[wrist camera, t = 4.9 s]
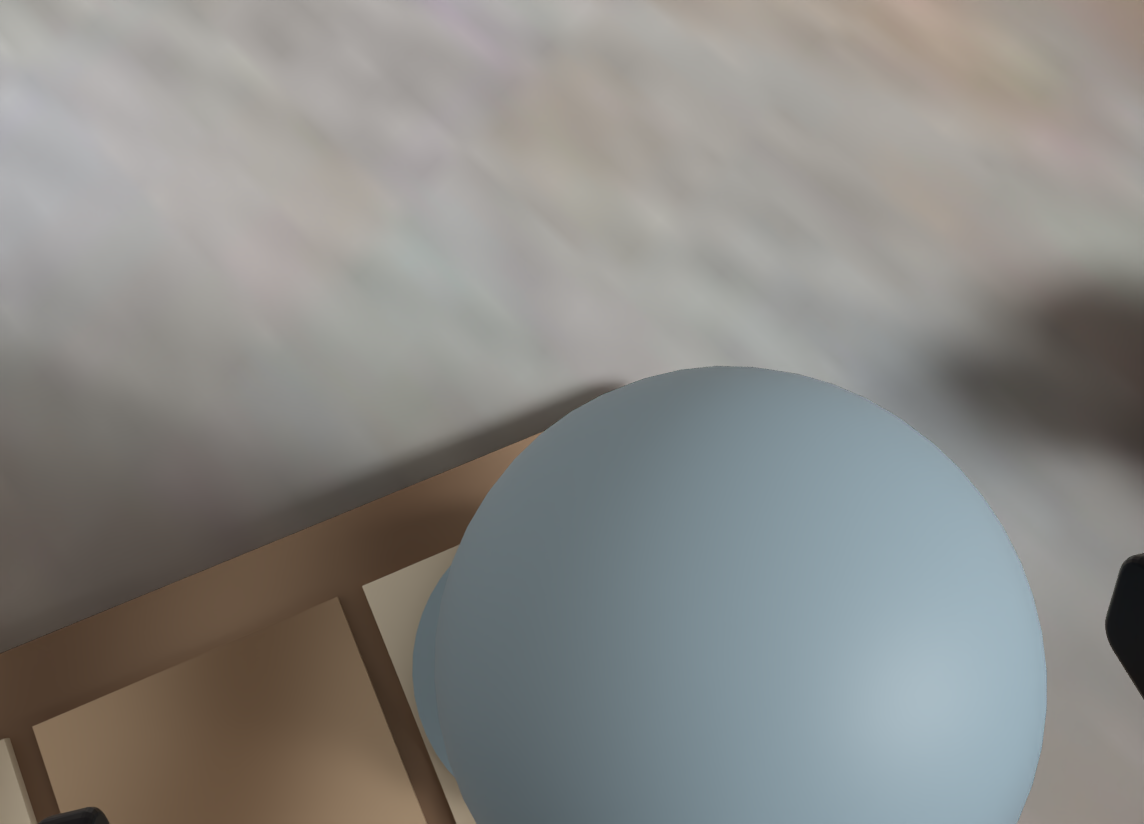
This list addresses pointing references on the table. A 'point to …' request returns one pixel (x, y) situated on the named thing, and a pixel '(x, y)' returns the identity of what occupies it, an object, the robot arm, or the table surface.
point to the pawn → (734, 620)
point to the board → (252, 682)
